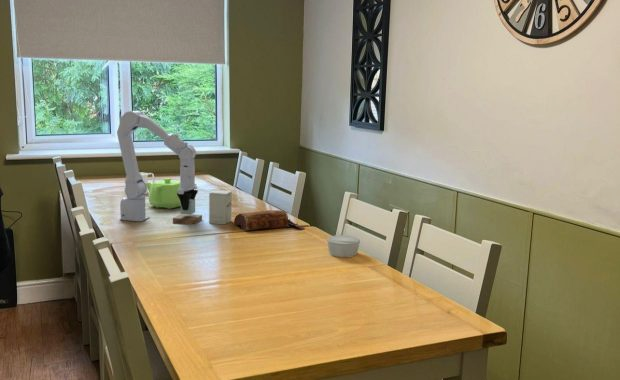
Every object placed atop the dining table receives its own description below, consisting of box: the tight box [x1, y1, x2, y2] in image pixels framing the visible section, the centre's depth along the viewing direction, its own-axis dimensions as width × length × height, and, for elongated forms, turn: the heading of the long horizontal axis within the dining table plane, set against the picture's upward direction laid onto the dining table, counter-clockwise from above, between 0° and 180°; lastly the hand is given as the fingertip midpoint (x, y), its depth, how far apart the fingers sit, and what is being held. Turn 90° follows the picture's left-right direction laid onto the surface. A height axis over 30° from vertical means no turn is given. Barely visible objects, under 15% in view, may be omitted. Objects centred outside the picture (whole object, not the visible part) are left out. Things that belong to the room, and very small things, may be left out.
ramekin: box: [326, 234, 361, 258], centre depth 201 cm, size 11×11×5 cm
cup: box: [139, 171, 156, 195], centre depth 303 cm, size 8×12×10 cm
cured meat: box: [233, 209, 305, 232], centre depth 238 cm, size 18×25×7 cm
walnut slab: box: [172, 213, 203, 225], centre depth 243 cm, size 9×9×2 cm
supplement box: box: [208, 189, 233, 225], centre depth 242 cm, size 7×7×13 cm
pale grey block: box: [180, 199, 196, 214], centre depth 242 cm, size 4×4×6 cm
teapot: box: [146, 177, 181, 210], centre depth 271 cm, size 18×20×13 cm
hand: (187, 208), depth 242 cm, fingers closed on pale grey block, 4 cm apart
